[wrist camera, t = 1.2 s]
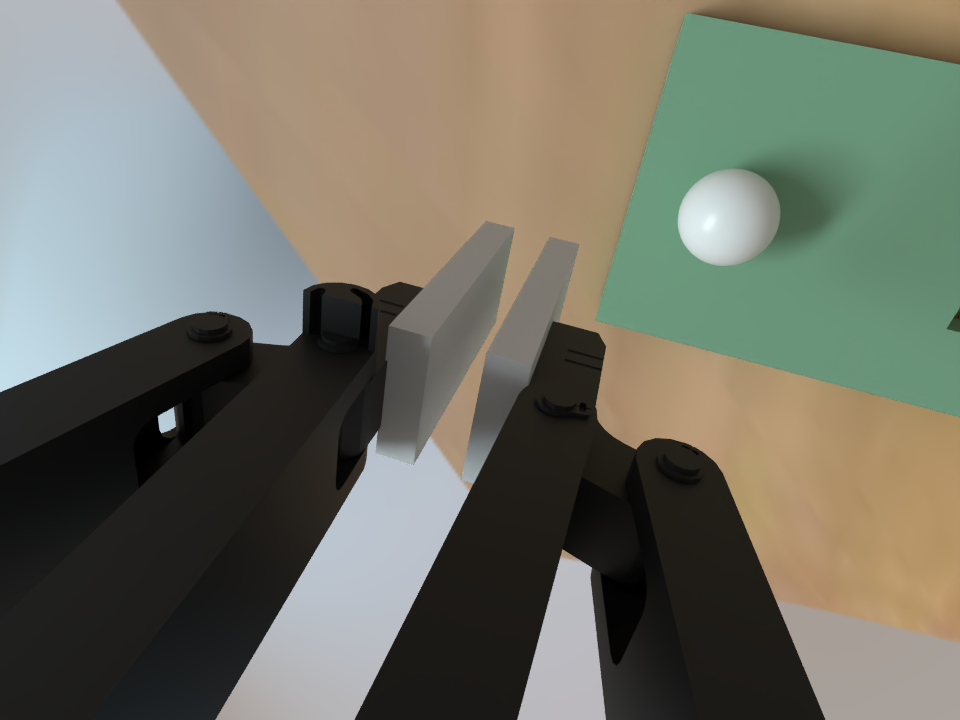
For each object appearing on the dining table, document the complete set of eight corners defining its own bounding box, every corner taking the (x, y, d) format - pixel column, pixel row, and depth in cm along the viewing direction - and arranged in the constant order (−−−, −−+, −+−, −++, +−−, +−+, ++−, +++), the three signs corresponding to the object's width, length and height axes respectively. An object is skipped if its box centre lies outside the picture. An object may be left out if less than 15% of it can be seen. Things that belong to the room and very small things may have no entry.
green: (685, 13, 26) (695, 6, 18) (1389, 148, 23) (1766, 207, 15) (594, 320, 34) (574, 405, 26) (1112, 457, 30) (1267, 603, 22)
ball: (694, 151, 27) (698, 168, 23) (787, 172, 26) (806, 192, 23) (665, 238, 29) (665, 265, 25) (751, 258, 28) (763, 290, 25)
